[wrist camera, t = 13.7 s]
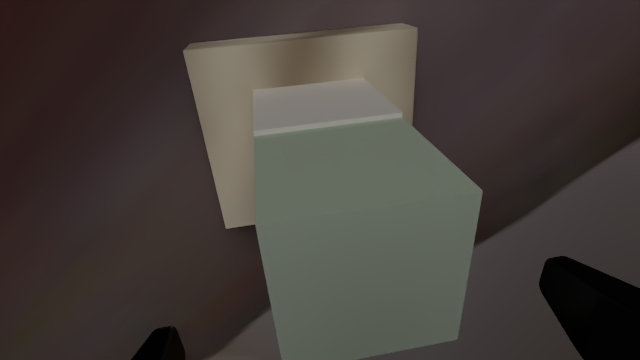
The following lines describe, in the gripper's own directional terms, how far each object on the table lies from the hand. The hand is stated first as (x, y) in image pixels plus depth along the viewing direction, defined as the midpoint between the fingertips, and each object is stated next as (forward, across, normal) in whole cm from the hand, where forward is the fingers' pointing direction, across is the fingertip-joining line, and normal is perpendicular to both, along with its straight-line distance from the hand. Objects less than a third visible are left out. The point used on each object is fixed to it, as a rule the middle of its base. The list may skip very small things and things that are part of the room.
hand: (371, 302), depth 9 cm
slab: (+12, 0, 0) cm, 12 cm away
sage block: (+5, 0, 0) cm, 5 cm away
